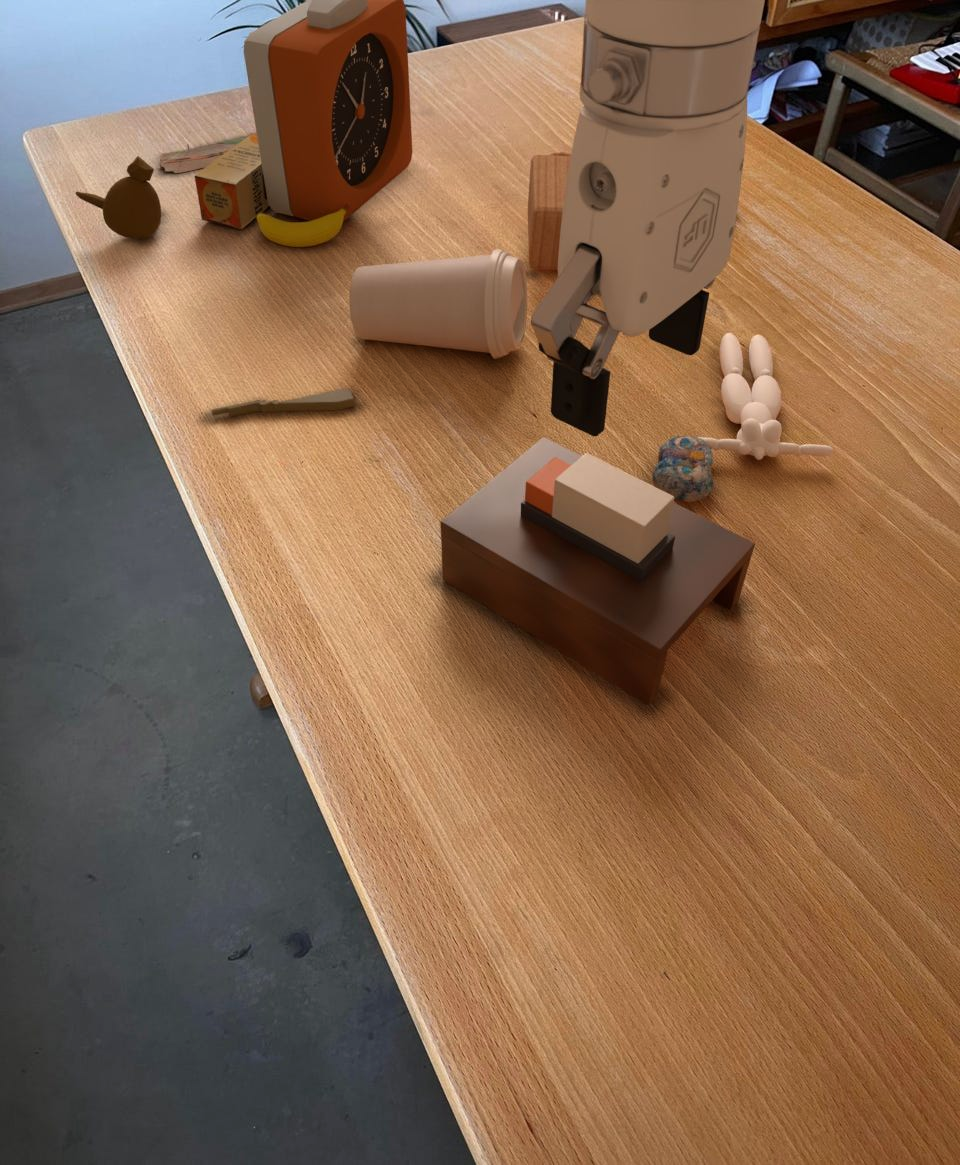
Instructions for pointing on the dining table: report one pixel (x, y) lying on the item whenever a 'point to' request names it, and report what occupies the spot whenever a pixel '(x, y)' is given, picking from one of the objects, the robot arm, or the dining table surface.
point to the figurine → (130, 203)
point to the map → (196, 156)
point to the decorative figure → (754, 404)
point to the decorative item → (546, 208)
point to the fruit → (302, 229)
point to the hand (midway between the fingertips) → (627, 383)
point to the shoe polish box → (233, 186)
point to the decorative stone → (684, 468)
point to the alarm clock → (330, 103)
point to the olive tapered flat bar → (294, 404)
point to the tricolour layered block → (602, 512)
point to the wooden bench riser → (588, 579)
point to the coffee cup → (443, 303)
